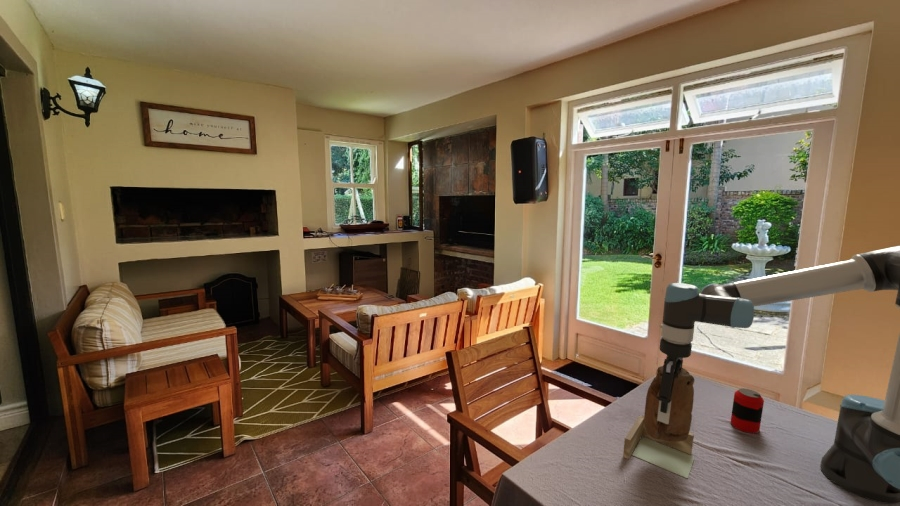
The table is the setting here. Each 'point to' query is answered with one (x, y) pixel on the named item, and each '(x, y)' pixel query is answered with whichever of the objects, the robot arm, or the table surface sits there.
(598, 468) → the table surface
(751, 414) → the soda can
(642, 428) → the wooden l-shaped piece
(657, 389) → the brown sandstone rock
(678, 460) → the pad
